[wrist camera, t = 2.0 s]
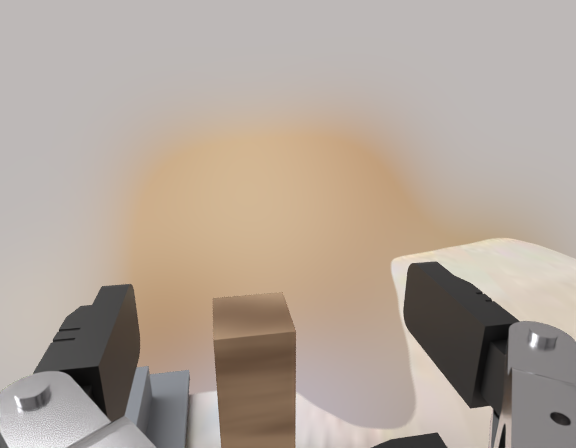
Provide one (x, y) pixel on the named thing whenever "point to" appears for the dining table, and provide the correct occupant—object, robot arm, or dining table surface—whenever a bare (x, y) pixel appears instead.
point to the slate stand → (160, 406)
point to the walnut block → (255, 371)
